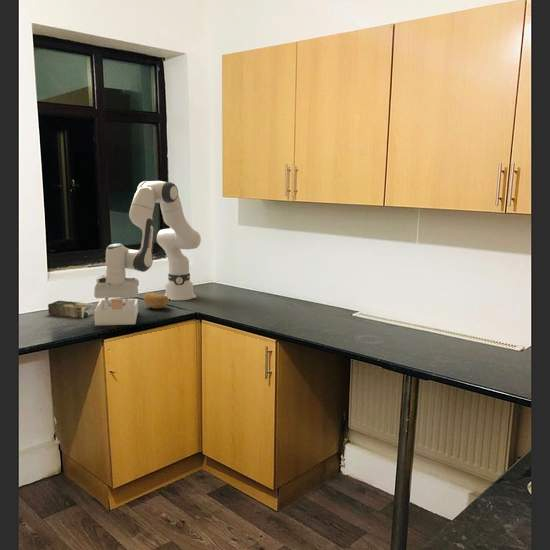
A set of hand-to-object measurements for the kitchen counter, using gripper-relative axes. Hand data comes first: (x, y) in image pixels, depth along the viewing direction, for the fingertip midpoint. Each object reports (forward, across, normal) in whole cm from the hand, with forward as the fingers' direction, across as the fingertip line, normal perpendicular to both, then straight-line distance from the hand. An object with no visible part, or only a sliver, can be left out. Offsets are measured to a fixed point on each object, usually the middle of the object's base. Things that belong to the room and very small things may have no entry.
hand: (117, 306), depth 265 cm
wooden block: (+5, 0, 0) cm, 5 cm away
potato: (+6, -18, -19) cm, 27 cm away
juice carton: (+7, +23, -11) cm, 26 cm away
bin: (+6, 0, 0) cm, 6 cm away
